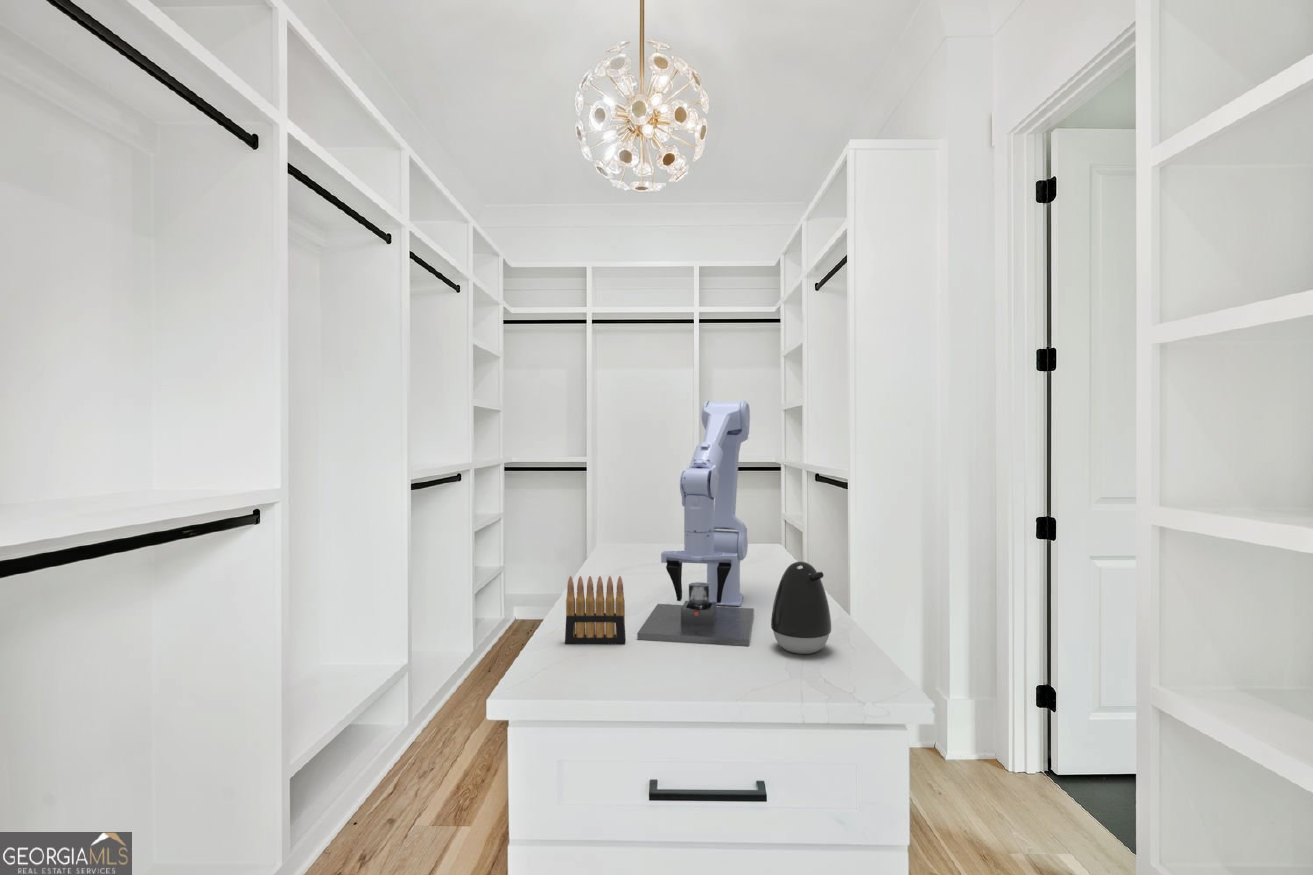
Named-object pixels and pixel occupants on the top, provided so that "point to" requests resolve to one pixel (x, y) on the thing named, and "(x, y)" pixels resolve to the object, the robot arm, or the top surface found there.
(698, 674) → the top surface
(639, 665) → the top surface
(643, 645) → the top surface
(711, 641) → the post base
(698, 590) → the grey cylindrical jar
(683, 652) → the top surface
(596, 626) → the ammunition clip
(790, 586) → the pump dispenser
